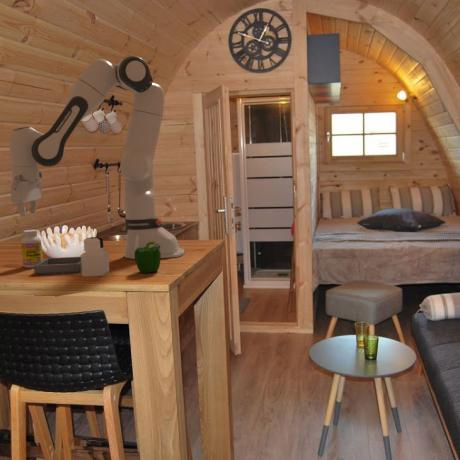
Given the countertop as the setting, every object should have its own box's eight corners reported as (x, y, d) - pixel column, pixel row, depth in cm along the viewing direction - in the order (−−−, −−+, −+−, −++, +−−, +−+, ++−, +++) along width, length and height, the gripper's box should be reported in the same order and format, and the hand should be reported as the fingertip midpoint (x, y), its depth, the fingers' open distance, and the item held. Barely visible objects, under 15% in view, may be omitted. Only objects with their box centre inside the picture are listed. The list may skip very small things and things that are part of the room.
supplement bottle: (24, 269, 192) (21, 232, 190) (22, 265, 198) (18, 230, 196) (44, 266, 195) (41, 230, 193) (41, 263, 201) (38, 228, 199)
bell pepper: (130, 274, 177) (128, 243, 175) (143, 268, 184) (141, 239, 183) (153, 275, 174) (151, 244, 172) (165, 269, 181) (163, 239, 180)
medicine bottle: (88, 272, 183) (85, 236, 181) (109, 271, 182) (106, 235, 181) (81, 277, 176) (78, 240, 174) (104, 276, 175) (101, 239, 174)
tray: (89, 264, 195) (89, 256, 194) (80, 272, 182) (79, 263, 182) (47, 266, 195) (46, 258, 194) (34, 274, 182) (33, 265, 182)
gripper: (23, 176, 181) (26, 217, 183) (44, 173, 201) (46, 211, 203) (4, 176, 181) (7, 218, 183) (26, 173, 201) (29, 211, 203)
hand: (28, 214), depth 193 cm, fingers open, 8 cm apart
